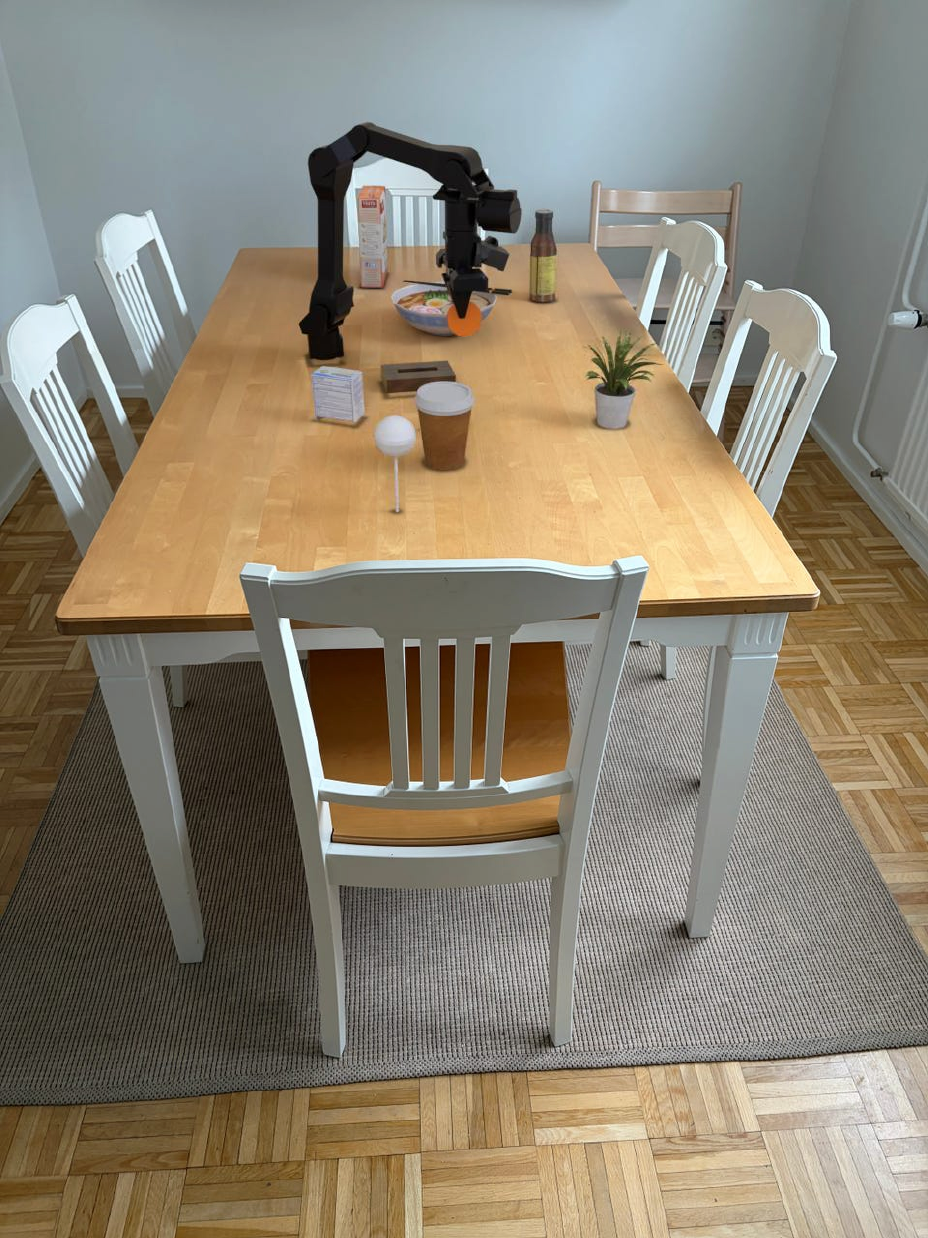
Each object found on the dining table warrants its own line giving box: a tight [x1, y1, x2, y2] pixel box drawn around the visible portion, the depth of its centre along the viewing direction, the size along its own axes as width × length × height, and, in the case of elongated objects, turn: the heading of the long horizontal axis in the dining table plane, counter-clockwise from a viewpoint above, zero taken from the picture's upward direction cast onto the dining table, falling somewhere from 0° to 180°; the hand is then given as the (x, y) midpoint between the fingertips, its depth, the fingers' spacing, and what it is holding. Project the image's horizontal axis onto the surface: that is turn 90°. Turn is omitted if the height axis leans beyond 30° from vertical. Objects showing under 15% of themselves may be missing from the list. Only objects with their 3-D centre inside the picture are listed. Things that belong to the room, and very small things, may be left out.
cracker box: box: [356, 185, 388, 289], centre depth 231 cm, size 14×6×21 cm, turn 179°
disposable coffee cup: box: [413, 381, 476, 471], centre depth 152 cm, size 10×10×12 cm
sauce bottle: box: [528, 208, 558, 304], centre depth 221 cm, size 7×6×20 cm
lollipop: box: [373, 414, 417, 513], centre depth 137 cm, size 6×6×15 cm
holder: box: [380, 360, 457, 394], centre depth 180 cm, size 13×8×4 cm, turn 102°
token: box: [447, 301, 483, 337], centre depth 176 cm, size 6×1×6 cm, turn 101°
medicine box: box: [310, 365, 366, 423], centre depth 166 cm, size 8×4×9 cm, turn 71°
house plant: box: [583, 329, 664, 430], centre depth 163 cm, size 14×14×16 cm
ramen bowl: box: [390, 279, 513, 337], centre depth 205 cm, size 25×23×8 cm
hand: (461, 316), depth 176 cm, fingers closed on token, 1 cm apart
